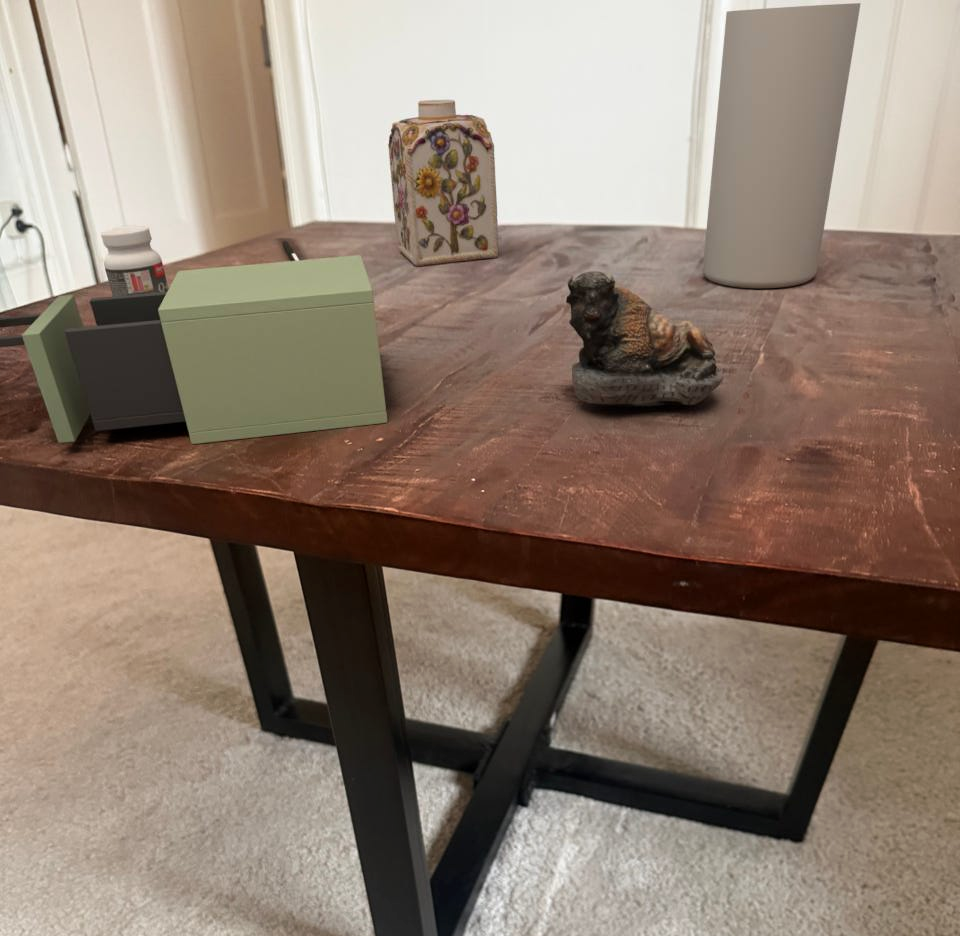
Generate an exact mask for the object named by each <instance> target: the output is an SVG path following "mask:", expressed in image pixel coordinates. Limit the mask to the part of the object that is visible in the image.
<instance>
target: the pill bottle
mask: <svg viewBox="0 0 960 936" xmlns="http://www.w3.org/2000/svg"><path fill="white" fill-rule="evenodd" d="M100 235H101V240H102V243H103V246H105V248H106V249H107V252H108V253H107V255H106V256H105V257H104V259H103V265H104V270H105V275H106V277H107V281H108V285H109V288H110V293H111V297H114V296H125V295H136V294H147V293H158V292H168V290H169V285H168V280H167V277H166V271H165V269H164V265H163V264H164V263H163V260H162V257H161V255H160V254H159V252H158V251H156V250H155V249H153V248H152V245H151V242H152V240H153V238H152V235H151V231H150V228H149V226H145V225H128V226H127V225H125V226H119V227H113V228H109V229H106V230H103V231H101V232H100Z"/></svg>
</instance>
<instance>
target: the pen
mask: <svg viewBox="0 0 960 936" xmlns="http://www.w3.org/2000/svg"><path fill="white" fill-rule="evenodd" d="M281 245H282V247H283V249H284V250H285V252H286V254H287V256H288V257H289V259H290V261H298V260H300V259H299V258H298V256H297V254H296V253H295V251H294V250H293V249H292V247H291V245H290V244H289V242H288V241H286V240H284V241H283V242H282V244H281Z"/></svg>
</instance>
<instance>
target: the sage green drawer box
mask: <svg viewBox="0 0 960 936" xmlns="http://www.w3.org/2000/svg"><path fill="white" fill-rule="evenodd" d="M174 276H175V277H174V279H173V280H172V282H171V284H170V285H169V287H168V289H169V290H168V292H167V294H166V295H165V297H164V299H163V301H162V303H161V305H160V307H159V309H158V312H159V316H160V320H161V322H162V323H161V324H162V328H163V332H164V336H165V340H166V344H167V348H168V352H169V356H170V360H171V364H172V368H173V372H174V376H175V380H176V384H177V388H178V392H179V396H180V400H181V404H182V408H183V412H184V416H185V420H186V422H185V423H186V427H187V432H188V435H189V440H190V444H191V445H199V444H208V443H215V442H216V443H217V442H225V441H233V440H243V439H245V440H246V439H252V438H261V437H271V436H280V435H281V436H282V435H289V434H299V433H308V432H315V431H316V432H317V431H324V430H333V429H343V428H352V427H363V426H369V425H370V426H371V425H379V424H380V425H381V424H387V423H388V414H387V405H386V397H385V395H386V394H385V387H384V380H383V378H384V377H383V371H382V362H381V360H382V359H381V354H380V353H381V352H380V344H379V343H380V342H379V334H378V326H377V316H376V310H375V300H374V291H373V288H372V285H371V282H370V278H369V275H368V272H367V269H366V266H365V263H364V260H363V257H362V255H361V254H356V255H345V256H333V257H322V258H311V259H301V260H300V259H299V260H298V261H291V260H288V261H287V260H286V261H278V262H266V263H254V264H243V265H233V266H219V267H209V268H197V269H185V270H184V269H183V270H178V271H177V273H176V275H174Z"/></svg>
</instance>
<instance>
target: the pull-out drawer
mask: <svg viewBox="0 0 960 936" xmlns="http://www.w3.org/2000/svg"><path fill="white" fill-rule="evenodd" d="M166 294H167V292H158V293H147V294H136V295H125V296H114V297H113V296H104V297H103V296H102V297H93V298H91V299H89V303H90V307H91V310H92V311H91V312H92V314H93V317H94V321H95V324H96V325H94V326H84V324H83V320H82V318H81V314H80V311H79V308H78V304H77V301H76V297H75V295H74V294H65V295H58V296H57V297H56V299H55V300H54V301H52V302H51V304H50V305H48V307H46V309H45V310H44V311H43V312H42V313H37V314H29V315H28V314H27V315H18V316H17V315H16V316H7V317H6V316H4V317H0V328H1V329H2V328H10V327H21V326H22V327H23V326H29V327H28V328H27V329H26V330H25V331H24V332H23V333H22V334H15V335H6V336H0V348H7V347H16V346H25V349H26V351H27V355H28V357H29V360H30V363H31V366H32V369H33V372H34V375H35V378H36V381H37V384H38V387H39V390H40V392H41V396H42V398H43V401H44V404H45V407H46V410H47V413H48V416H49V419H50V422H51V425H52V428H53V431H54V434H55V436H56V440H57V442H58V444H67V443H74V442H76V441H77V438H78V437H79V435H80V434H81V432H82V431H83V430H82V429H83V428H84V426H85V425H86V423H87V421H88V419H89V417H90V418H91V420H92V424H93V427H94V428H93V429H94V430H95V432H103V431H110V430H111V431H112V430H121V429H131V428H138V427H139V428H140V427H150V426H159V425H167V424H176V423H177V424H178V423H186V420H185V416H184V412H183V408H182V404H181V400H180V396H179V392H178V388H177V384H176V380H175V376H174V372H173V368H172V364H171V360H170V356H169V352H168V348H167V344H166V340H165V336H164V332H163V328H162V324H161V323H162V322H161V320H160V316H159V312H158V309H159V307H160V305H161V303H162V301H163V299H164V297H165V295H166Z"/></svg>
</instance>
